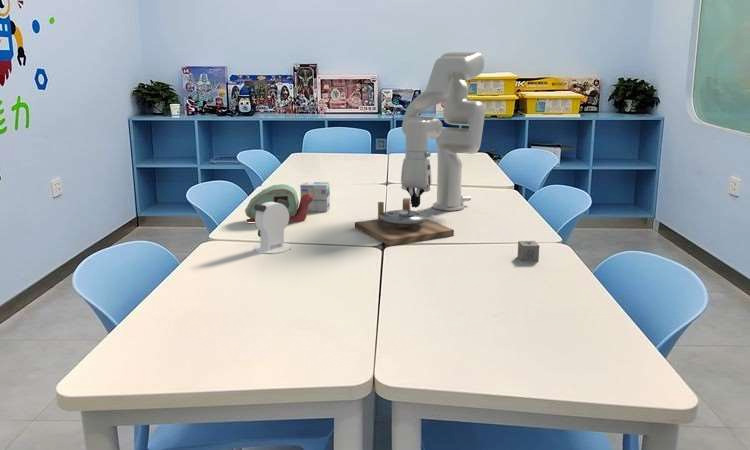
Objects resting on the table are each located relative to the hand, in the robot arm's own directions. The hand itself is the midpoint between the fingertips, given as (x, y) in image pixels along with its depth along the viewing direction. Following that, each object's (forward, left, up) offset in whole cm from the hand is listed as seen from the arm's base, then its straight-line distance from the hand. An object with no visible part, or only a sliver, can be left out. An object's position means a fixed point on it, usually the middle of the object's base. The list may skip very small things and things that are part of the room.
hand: (415, 206), depth 230 cm
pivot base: (+8, +4, -7) cm, 11 cm away
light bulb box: (+22, -40, -7) cm, 46 cm away
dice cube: (-10, +49, -7) cm, 50 cm away
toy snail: (+40, -30, -8) cm, 50 cm away
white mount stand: (+54, +1, -7) cm, 54 cm away
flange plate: (+7, +4, -3) cm, 8 cm away
